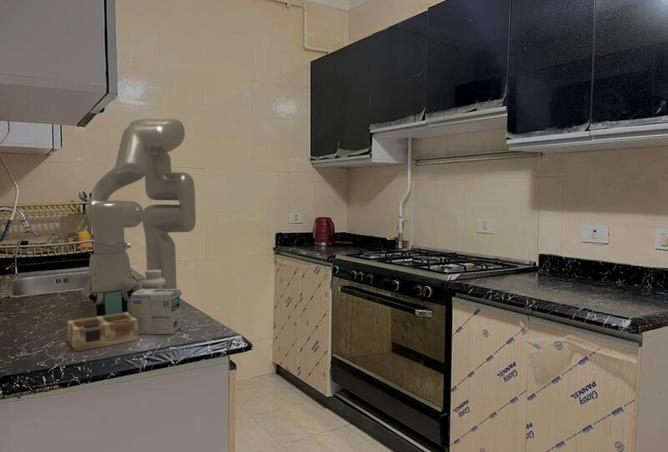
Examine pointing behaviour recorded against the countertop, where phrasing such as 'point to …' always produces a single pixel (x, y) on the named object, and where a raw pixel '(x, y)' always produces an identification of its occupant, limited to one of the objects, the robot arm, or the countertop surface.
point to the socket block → (102, 331)
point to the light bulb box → (157, 310)
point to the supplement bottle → (154, 280)
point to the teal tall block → (112, 302)
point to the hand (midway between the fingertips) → (112, 315)
